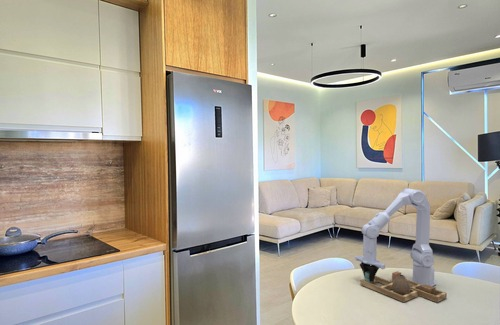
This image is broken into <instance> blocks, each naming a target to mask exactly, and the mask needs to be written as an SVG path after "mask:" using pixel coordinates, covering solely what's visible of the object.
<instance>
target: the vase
mask: <svg viewBox="0 0 500 325" xmlns="http://www.w3.org/2000/svg"><path fill="white" fill-rule="evenodd" d="M407 280H408V279H407V277H406V276H405V275H404V274H402V273H401V274H400V275H398V277H397V278H396V279H395V280H394V281H393V284H392V289H391V290H392V292H395V293H397V294H400V295H402V296H403V295H406V294H409V293H410V290H411V288H410V287H411V286H410V284H409V282H408V281H407Z"/></svg>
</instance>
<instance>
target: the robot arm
mask: <svg viewBox="0 0 500 325" xmlns="http://www.w3.org/2000/svg"><path fill="white" fill-rule="evenodd" d="M403 206H413V207H414V208H415V209H416V219H415V221H416V222H415V243H413V245H412V248H411V251H410V256H409V257H410V259H411V260H412V280H411V281H413V282H416V283H419V284H422V285H425V284H427V285H430V286H433V287H435V286H436V285H437V283H436V282H435V267H434V266H433V265H434V264H435V257H434V253H433V249H432V248H431V246H430V232H431V229H430V228H431V227H430V226H431V205H430V202H429V200H428V199H427V194H426V193H424V191H423V190H420V189H413V188H409V187H406V188H404V189H403V190H402V191H401V192H399V193H398V195H397V196H396V198H395V199H393V201H392V202H391V203H390V204H389V206H387V207H386V209H385V210H384V211H380V212H376V213H375V214H374V215H375V216H374V217H373V218H372V219H371V220H369V221H367V223H365V224H364V225H363V226H362V228H361V234H363V235H362V236H363V237H362V238H363V239H362V241H363V242H362V245H363V246H362V248H363V249H362V255H361V256H360V255H355V256H354V261H355V262H359V266H360V268H361V271H362V273H363V277H364V279H365V272H367V271H369V274H370V282H372V281H374V278H375V276H377V272H378V270H379V269H381V270H385V269H386V264H385V263H382V262H380V261H378V260H377V241H378V240H377V237H379V235H380V231H382V229H384V227H386V226H387V224H389V222H391V221H390V220H391V217H392V216H393V215H394V214H395V213H397V211H399V210H400V209H401V208H402V207H403Z"/></svg>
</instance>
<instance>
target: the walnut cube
mask: <svg viewBox="0 0 500 325" xmlns="http://www.w3.org/2000/svg"><path fill="white" fill-rule="evenodd" d="M436 290H437V289H436V286H430V285H427V284H425V285H422V286H421V291H424V292H427V293H430V294H433V295H435V294H436ZM435 296H436V295H435Z"/></svg>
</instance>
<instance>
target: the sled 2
mask: <svg viewBox="0 0 500 325" xmlns="http://www.w3.org/2000/svg"><path fill="white" fill-rule="evenodd" d="M391 274H392V275H391V279H390V280H389V281H391V282H393V281H394V280H395V279H396V278H397V277H398V275H400V274H401V275H402V272H400V271H397V270H396V271H393V272H392V273H391ZM407 281H408V282H409V284H410V288H411V289H413V290H416V291H418V296H420V297H422V298H424V299H427V300H430V301H433V302H435V303H439V302H441V301H443V300H445V299H447V292H444V291H442V290H439V289H436V294H435V295H433V294H430V293H427V292H424V291H421V286H422V284H419V283H416V282H413V281H412V280H409V279H407Z"/></svg>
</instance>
